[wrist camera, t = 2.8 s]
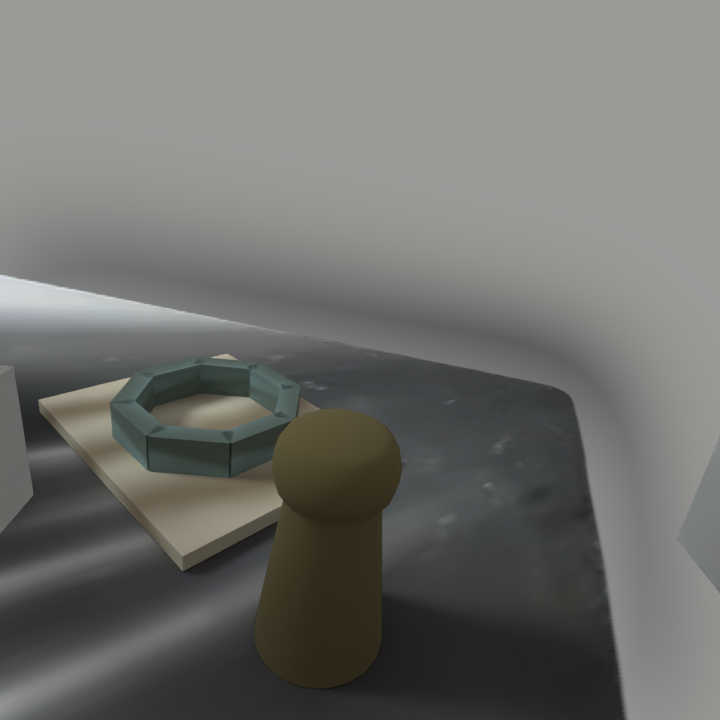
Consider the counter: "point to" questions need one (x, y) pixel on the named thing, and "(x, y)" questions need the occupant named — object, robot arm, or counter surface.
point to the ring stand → (186, 447)
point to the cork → (327, 548)
